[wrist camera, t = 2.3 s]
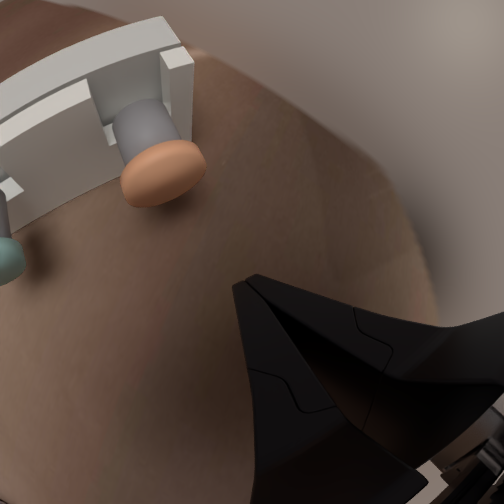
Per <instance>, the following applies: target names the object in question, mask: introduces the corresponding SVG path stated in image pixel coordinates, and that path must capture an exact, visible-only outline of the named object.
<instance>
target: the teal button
mask: <svg viewBox="0 0 504 504" xmlns="http://www.w3.org/2000/svg"><path fill="white" fill-rule="evenodd" d="M25 268H26V261H25V257H24V252H23V248H22V245H21V244H20V243H19V242H18V241H16V240H14V239H12V236H11V230H10V224H9V217H8V210H7V202H6V195H5V193H4V192H3V191H2V190H1V189H0V286H2V285H4V284H7V283H9V282H11V281H13V280H14V279H16V278H17V277H18V276H20V275H21V274H22V273H23V271H24V270H25Z"/></svg>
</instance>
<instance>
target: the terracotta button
mask: <svg viewBox="0 0 504 504" xmlns="http://www.w3.org/2000/svg"><path fill="white" fill-rule="evenodd" d="M112 130H113V133H114V136H115V139H116V142H117V145H118V148H119V151H120V154H121V157H122V159H123V162H124V165H125V168H124V170H123V171H122V173H121V176H120V185H121V188H122V191H123V193H124V196H125V199H126V201H127V203H128V204H130V205H132V206H134V207H152V206H156V205H160V204H163V203H166V202H168V201H170V200H173V199H175V198H177V197H179V196H180V195H182V194H184V193H185V192H187V191H188V190H190V189H191V188H192V187H193V186H195V185H196V184H197V183H198V182H199V181H200V179H201V178H202V177H203V175H204V174H205V171H206V168H207V164H206V161H205V159H204V157H203V156H202V154H201V152H200V150H199V148H198V146H197V145H196V144H194V143H193V142H190V141H187V140H182V138H181V137H180V135H179V133H178V131H177V129H176V127H175V125H174V123H173V121H172V119H171V117H170V115H169V113H168V111H167V109H166V107H165V105H164V104H163V103H162V102H161V101H159V100H156V99H142V100H138V101H135V102H133V103H131V104H129V105H127V106H126V107H124V108H123V109H122V110H121V111H120V112H119V113H118V114H117V115H116V117H115V119H114V121H113V124H112Z"/></svg>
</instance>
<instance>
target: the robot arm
mask: <svg viewBox="0 0 504 504" xmlns="http://www.w3.org/2000/svg"><path fill="white" fill-rule="evenodd" d="M232 291H233V297H234V302H235V308H236V313H237V319H238V324H239V329H240V335H241V340H242V345H243V351H244V356H245V361H246V366H247V370H248V371H247V372H248V377H249V382H250V388H251V395H252V405H253V423H254V452H255V470H254V482H253V488H252V494H251V500H250V504H406V503H407V502H408V501H409V500H411V499H412V498H413V497H414V496H415V495H416V494H418V493H419V492H420V491H421V490H422V489H423V488H424V487H425V486H427V484H428V483H429V482H428V480H427V479H426V478H425V477H424V476H423V475H422V474H421V473H419V472H418V471H417V470H416V469H417V468H419V467H420V466H421V465H423V464H424V463H426V462H427V461H428V460H431V462H432V463H433V464H434V465H435V466H436V467H437V468H438V469H439V470H440V471H441V472H442V474H441V475H440V476H441V477H442V479H443V480H444V481H445V482H446V483H447V484H448V485H449V486H448V487H447V488H446V489H444V490H443V491H442V492H441V493H440V494H439V496H437V497H436V498H435V499H434V500H433V501H432V502H431V503H430V504H504V474H503V475H502V476H501V477H500V478H499V480H498V481H497V483H496V484H495V485H493V483H494V482H495V481H496V480H497V478H498V477H499V476H500V474H501V473H502V472H503V470H504V312H501V313H498V314H495V315H492V316H489V317H486V318H483V319H480V320H477V321H473V322H470V323H467V324H463V325H460V326H455V327H438V326H432V325H427V324H422V323H417V322H412V321H407V320H402V319H397V318H393V317H389V316H385V315H381V314H377V313H374V312H370V311H367V310H364V309H361V308H358V307H353V306H351V305H348V304H345V303H342V302H339V301H336V300H333V299H330V298H327V297H324V296H321V295H318V294H315V293H312V292H309V291H306V290H303V289H300V288H297V287H294V286H291V285H288V284H285V283H282V282H279V281H276V280H274V279H271V278H268V277H265V276H262V275H259V274H254V275H252V276H250V277H248V278H246V279H245V281H243V280H242V281H240V282H238V283H236V284H234V285H233V286H232Z"/></svg>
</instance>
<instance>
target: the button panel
mask: <svg viewBox="0 0 504 504" xmlns="http://www.w3.org/2000/svg"><path fill="white" fill-rule="evenodd" d="M193 81H194V61H193V59H192V58H191V57H190V55H189V54H188V52H187V51H186V49H185V48H184V46H182V47H181V42H180V41H179V39H178V38H177V36H176V35H175V33H174V32H173V31H172V29H171V28H170V26H169V25H168V24H167V22H166V21H165V19H164V18H163V17H162V16H159V17H155V18H151V19H147V20H143V21H140V22H136V23H133V24H129V25H126V26H123V27H120V28H117V29H114V30H111V31H108V32H105V33H102V34H99V35H97V36H94V37H91V38H89V39H86V40H84V41H81V42H79V43H77V44H74V45H72V46H70V47H67V48H65V49H63V50H61V51H59V52H56V53H54V54H52V55H50V56H48V57H46V58H44V59H42V60H40V61H38V62H36V63H35V64H33V65H31V66H29V67H27V68H25V69H24V70H22V71H20V72H18V73H17V74H15V75H13V76H12V77H10V78H8V79H7V80H5V81H4V82H2V83H1V84H0V189H1V190H2V191H3V192H4V193H5V195H6V202H7V210H8V217H9V224H10V230H11V234H13V233H14V232H16V231H17V230H19V229H21V228H22V227H24V226H26V225H27V224H29V223H31V222H32V221H34V220H36V219H37V218H39V217H41V216H43V215H44V214H46V213H48V212H50V211H51V210H53V209H55V208H57V207H59V206H61V205H62V204H64V203H66V202H68V201H70V200H72V199H74V198H76V197H78V196H80V195H82V194H84V193H86V192H88V191H90V190H92V189H94V188H96V187H98V186H100V185H102V184H104V183H106V182H108V181H110V180H113V179H115V178H117V177H119V176H121V173H122V171H123V170H124V168H125V165H124V162H123V159H122V157H121V154H120V151H119V148H118V145H117V142H116V139H115V136H114V133H113V130H112V124H113V121H114V119H115V117H116V115H117V114H118V113H119V112H120V111H121V110H122V109H123V108H124V107H126V106H127V105H129V104H131V103H133V102H135V101H138V100H142V99H156V100H159V101H161V102H162V103H163V104H164V105H165V107H166V109H167V111H168V113H169V115H170V117H171V119H172V121H173V123H174V125H175V127H176V129H177V131H178V133H179V135H180V137H181V138H182V140H187V141H190V142H192V104H193Z"/></svg>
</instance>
